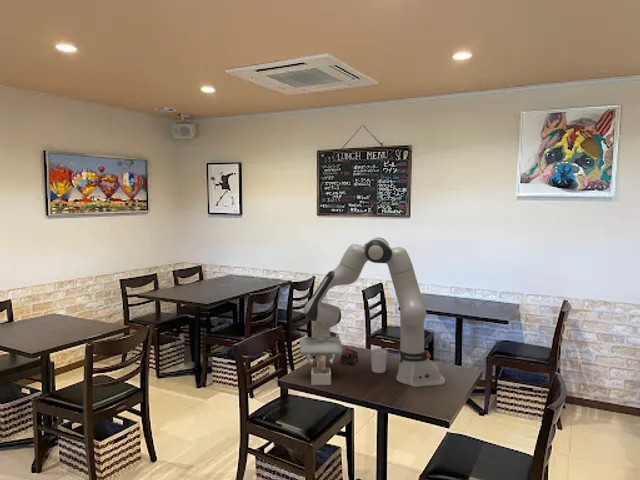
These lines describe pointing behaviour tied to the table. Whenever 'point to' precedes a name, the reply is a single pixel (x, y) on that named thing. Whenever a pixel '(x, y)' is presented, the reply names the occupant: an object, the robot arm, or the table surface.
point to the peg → (321, 364)
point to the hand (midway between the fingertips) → (321, 363)
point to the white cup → (378, 360)
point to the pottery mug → (346, 358)
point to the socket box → (320, 377)
